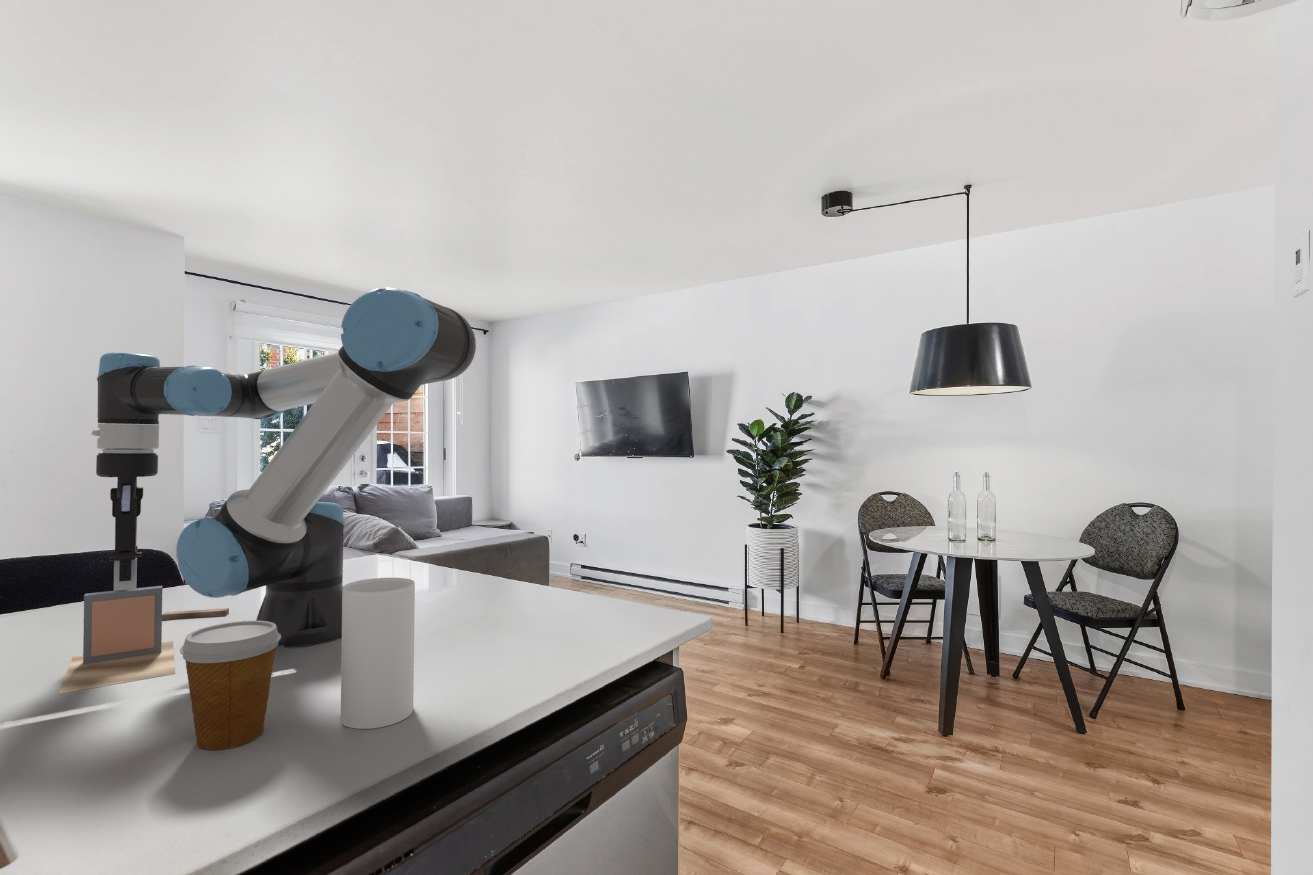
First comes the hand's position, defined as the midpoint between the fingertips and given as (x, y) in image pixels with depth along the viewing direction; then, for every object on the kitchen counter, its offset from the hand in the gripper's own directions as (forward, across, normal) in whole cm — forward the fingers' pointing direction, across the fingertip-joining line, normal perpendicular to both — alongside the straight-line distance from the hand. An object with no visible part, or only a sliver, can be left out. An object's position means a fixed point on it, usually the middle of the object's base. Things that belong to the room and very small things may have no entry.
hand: (124, 600), depth 101 cm
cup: (+8, +48, +26) cm, 55 cm away
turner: (+8, -16, +5) cm, 19 cm away
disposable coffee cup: (+8, +45, +11) cm, 47 cm away
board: (+8, +10, 0) cm, 13 cm away
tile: (+7, +6, 0) cm, 10 cm away
